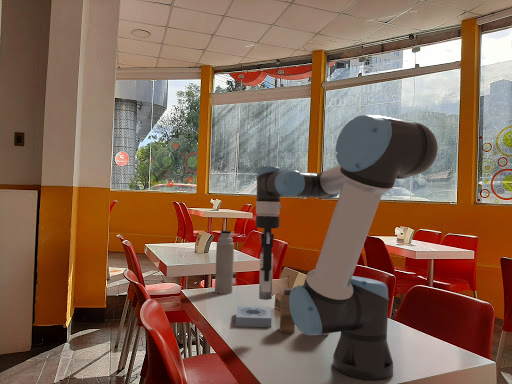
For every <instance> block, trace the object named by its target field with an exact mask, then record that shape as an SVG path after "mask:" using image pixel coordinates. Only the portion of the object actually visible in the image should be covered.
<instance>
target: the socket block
mask: <svg viewBox="0 0 512 384" xmlns="http://www.w3.org/2000/svg"><path fill="white" fill-rule="evenodd" d="M235 314H236V315H235V327H255V328H258V327H259V328H272V313H271V309H270V307H269V306H243V305H242V306H241V305H240V306H239V305H237V306H236V312H235Z"/></svg>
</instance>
